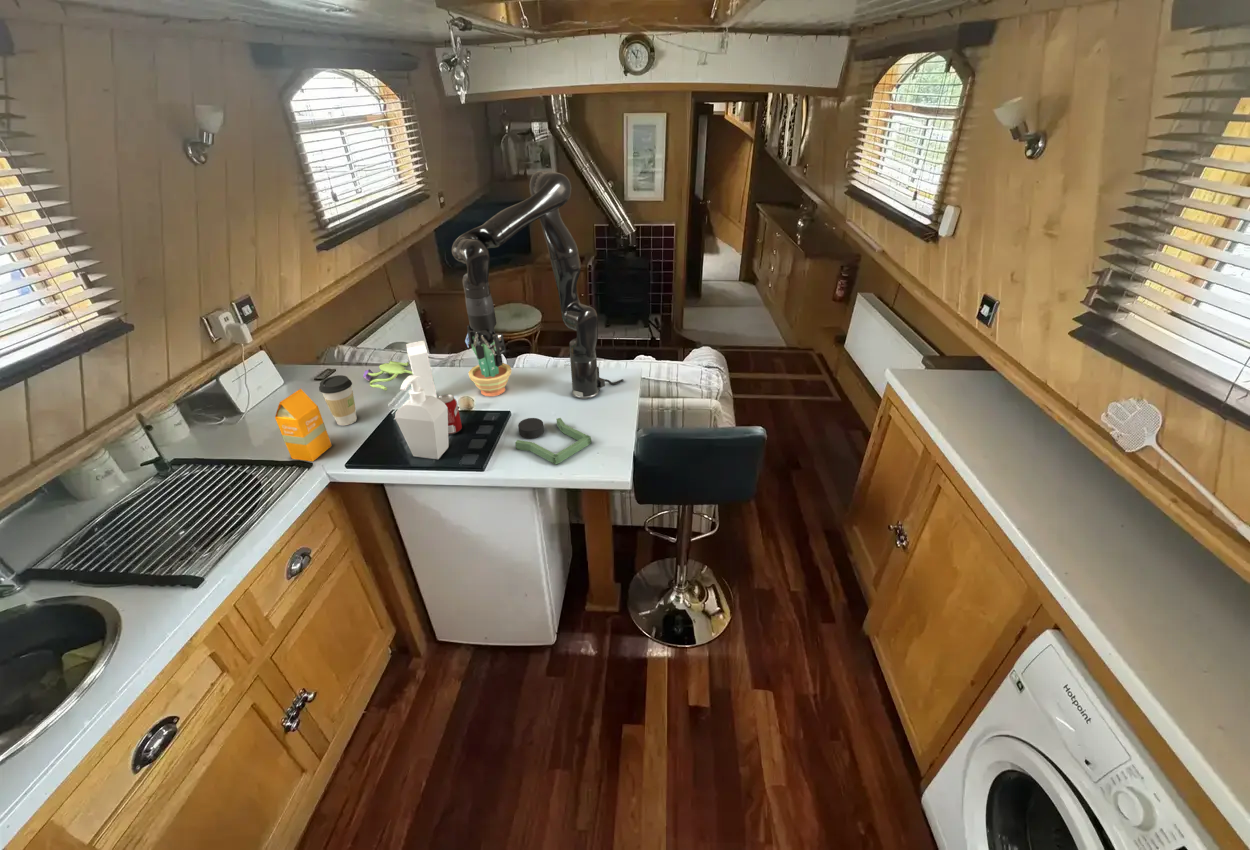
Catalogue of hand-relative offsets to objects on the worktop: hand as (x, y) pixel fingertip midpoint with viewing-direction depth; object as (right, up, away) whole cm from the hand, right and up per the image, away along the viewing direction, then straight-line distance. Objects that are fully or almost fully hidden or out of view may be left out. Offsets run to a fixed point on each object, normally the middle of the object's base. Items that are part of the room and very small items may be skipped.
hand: (490, 361), depth 166 cm
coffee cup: (-53, -18, +21) cm, 60 cm away
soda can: (-16, -21, +15) cm, 30 cm away
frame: (+19, -25, +7) cm, 32 cm away
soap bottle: (-19, -28, +4) cm, 34 cm away
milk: (-30, -10, +33) cm, 46 cm away
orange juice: (-56, -27, +5) cm, 63 cm away
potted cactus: (-8, -6, +38) cm, 40 cm away
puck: (+10, -21, +13) cm, 27 cm away
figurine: (-48, -2, +46) cm, 66 cm away
